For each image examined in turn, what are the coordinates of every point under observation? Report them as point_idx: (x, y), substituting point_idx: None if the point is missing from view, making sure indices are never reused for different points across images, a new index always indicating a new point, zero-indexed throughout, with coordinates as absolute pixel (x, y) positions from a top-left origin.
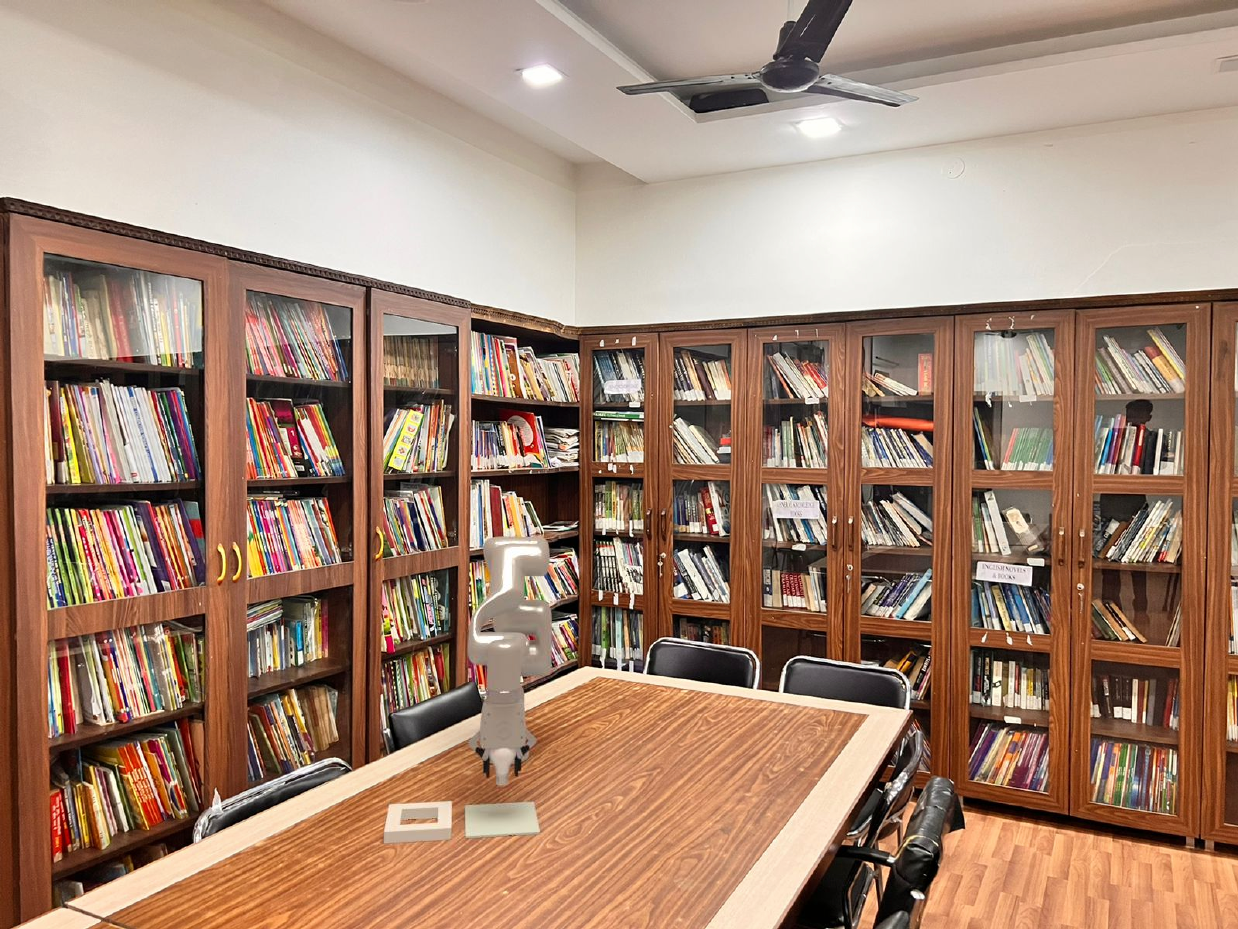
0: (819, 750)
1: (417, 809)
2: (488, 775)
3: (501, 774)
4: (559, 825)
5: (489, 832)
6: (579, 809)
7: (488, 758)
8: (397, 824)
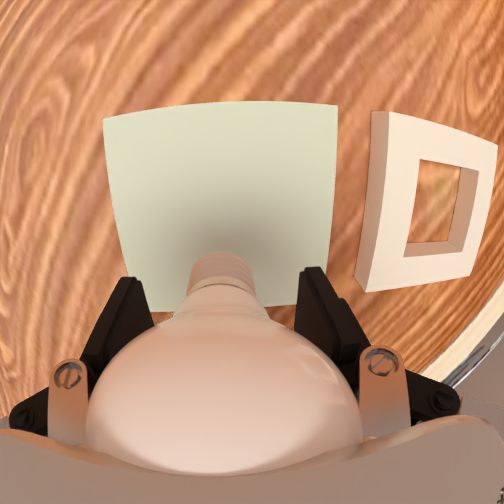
0: None
1: (438, 253)
2: (311, 274)
3: (224, 285)
4: (60, 179)
5: (263, 117)
6: (38, 268)
7: (343, 372)
8: (481, 174)
